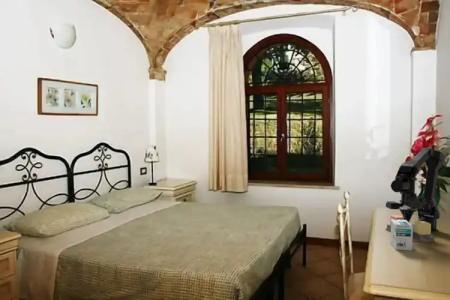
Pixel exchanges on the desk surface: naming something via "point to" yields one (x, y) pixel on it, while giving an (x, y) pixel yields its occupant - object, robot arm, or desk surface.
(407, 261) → the desk surface
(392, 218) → the peach cube
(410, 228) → the light bulb box
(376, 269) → the desk surface
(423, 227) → the yellow cube
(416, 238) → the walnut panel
